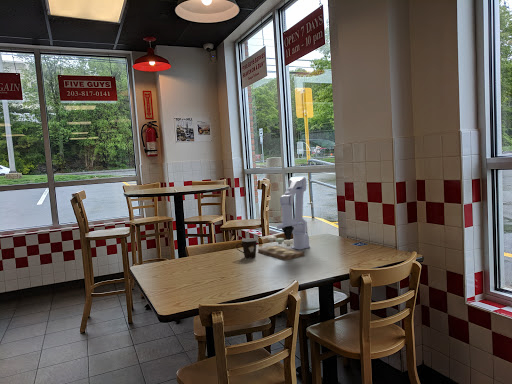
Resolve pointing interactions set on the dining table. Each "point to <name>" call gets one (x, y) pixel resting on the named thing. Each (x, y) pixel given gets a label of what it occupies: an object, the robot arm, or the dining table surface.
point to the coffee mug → (248, 247)
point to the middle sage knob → (280, 240)
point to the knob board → (281, 252)
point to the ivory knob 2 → (288, 242)
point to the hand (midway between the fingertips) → (288, 239)
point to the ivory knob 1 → (272, 238)
